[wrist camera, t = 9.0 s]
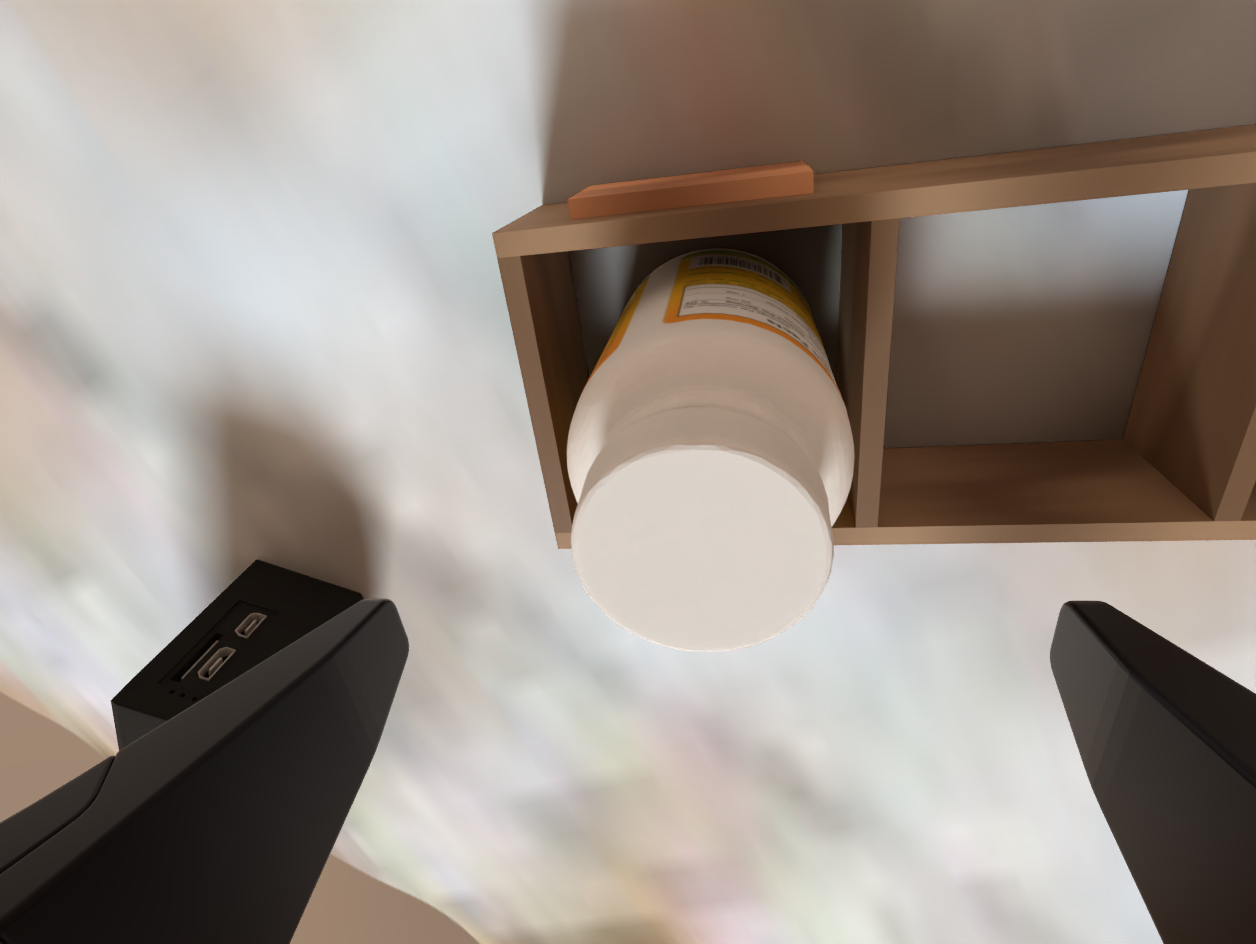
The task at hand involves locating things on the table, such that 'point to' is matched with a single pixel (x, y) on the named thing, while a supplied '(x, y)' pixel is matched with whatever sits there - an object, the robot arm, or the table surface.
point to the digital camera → (226, 644)
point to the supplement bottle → (709, 457)
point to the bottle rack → (870, 214)
